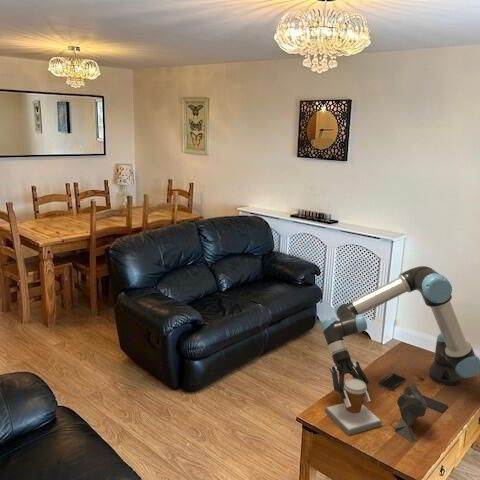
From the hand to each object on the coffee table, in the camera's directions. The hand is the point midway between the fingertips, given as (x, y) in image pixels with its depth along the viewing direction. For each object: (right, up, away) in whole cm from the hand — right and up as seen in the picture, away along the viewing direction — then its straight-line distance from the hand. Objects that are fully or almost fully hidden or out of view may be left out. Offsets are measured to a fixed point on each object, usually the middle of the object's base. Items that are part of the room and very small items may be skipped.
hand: (358, 404), depth 197 cm
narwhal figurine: (+21, -10, +1) cm, 23 cm away
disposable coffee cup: (-1, -4, +4) cm, 6 cm away
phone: (+37, -6, +18) cm, 41 cm away
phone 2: (+25, -2, +34) cm, 42 cm away
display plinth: (-1, -8, +5) cm, 10 cm away
